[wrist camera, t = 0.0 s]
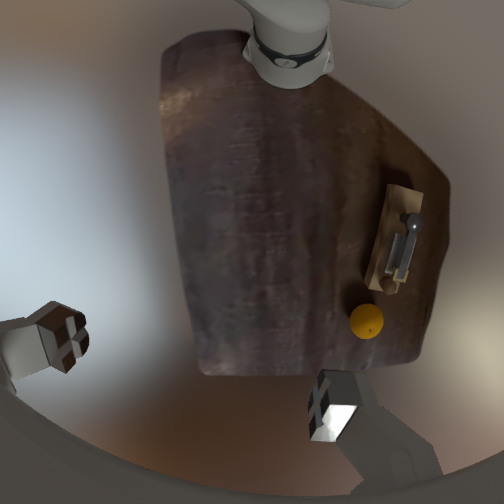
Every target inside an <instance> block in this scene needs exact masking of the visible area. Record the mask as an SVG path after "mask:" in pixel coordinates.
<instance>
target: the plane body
mask: <svg viewBox="0 0 504 504" xmlns="http://www.w3.org/2000/svg"><path fill="white" fill-rule="evenodd" d="M422 198H423V193H420V192H417V191H414V190H411V189H408V188H405V187H402V186H398V185H395V184H388V185H387V190H386V195H385V200H384V205H383V210H382V214H381V219H380V223H379V227H378V231H377V235H376V239H375V243H374V247H373V251H372V254H371V258H370V262H369V265H368V269H367V272H366V275H365V279H364V283H365V284H366V286H367V287H368V288H369V289H373V290H379V291H384V292H385V293H386V294H387V295H392V294H394V293H397V290H398V287H399V284H400V281H394V280H392V279H391V278H390V277H391V274H390V273H385V272H384V271H383V270H382V269H381V268H380V265H381V262H382V258H383V255H384V251H385V247H386V244H387V240H388V236H389V232H390V230H393V231H397V232H401V233H405V234H406V231H407V229H406V227H405V224H404V221H405V217H406V216H407V215H408V214H409V213H411V212H414V213H417V214H419V212H420V208H421V203H422Z"/></svg>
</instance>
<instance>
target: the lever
mask: <svg viewBox="0 0 504 504" xmlns="http://www.w3.org/2000/svg"><path fill="white" fill-rule="evenodd" d="M404 224H405V227H406V229H407V231H406V235H405V239H404V242H403V246H402V250H401V253H400V257H399V260H398V263H397V267H395V266H394V268H393V271H392V274H391V277H390V278H391V279H392V280H394V281H400V282H405V281H406V278H407V275H408V272H409V271H408V270H407V267H408V264H409V260H410V257H411V254H412V250H413V247H414V243H415V239H416V235H417V233H418V232H419V231H421V229H422V228H423V225H424V221H423V218H422V216H421V215H420V214H417V213H414V212H411V213H409V214H408V215H407V216H406V217H405V221H404Z"/></svg>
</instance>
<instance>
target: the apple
mask: <svg viewBox="0 0 504 504" xmlns="http://www.w3.org/2000/svg"><path fill="white" fill-rule="evenodd" d="M382 326H383V316H382V313H381V311H380V310H379V308H378V307H376V306H375V305H373V304H368V303H367V304H362V305H360V306H358V307H357V308H355V309H354V310H353V312H352V313H351V316H350V327H351V330H352V332H353V333H354V334H355V335H356V336H358V337H360V338H363V339H369V338H372V337H374V336H376V335H377V334H378V333H379V332H380V331H381V329H382Z"/></svg>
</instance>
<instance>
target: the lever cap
mask: <svg viewBox="0 0 504 504" xmlns="http://www.w3.org/2000/svg"><path fill="white" fill-rule="evenodd" d="M405 235H406V234H405V233H401V232H397V231H393V230H390V232H389V236H388V240H387V244H386V247H385V251H384V255H383V258H382V262H381V265H380V268H381V269H382V270H383V271H384V272H385V273H390V274H392V271H393V268H394V266H395V267H397V263H398V260H399V257H400V253H401V250H402V246H403V242H404V239H405ZM415 242H416V239H415ZM414 246H415V243H414ZM413 249H414V247H413ZM412 253H413V250H412ZM411 256H412V254H411ZM410 260H411V257H410ZM410 260H409V263H410ZM408 266H409V264H408ZM407 269H408V267H407Z"/></svg>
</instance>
